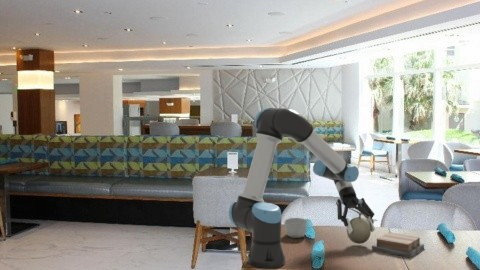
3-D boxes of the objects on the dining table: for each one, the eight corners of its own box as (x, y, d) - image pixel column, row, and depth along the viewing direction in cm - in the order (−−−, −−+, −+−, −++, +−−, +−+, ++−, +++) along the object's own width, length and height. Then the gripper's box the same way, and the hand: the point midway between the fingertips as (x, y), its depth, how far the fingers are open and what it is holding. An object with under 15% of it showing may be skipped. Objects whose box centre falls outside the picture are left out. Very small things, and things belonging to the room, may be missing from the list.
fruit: (373, 246, 219) (374, 213, 218) (346, 245, 221) (347, 212, 220) (371, 240, 229) (372, 208, 228) (346, 239, 231) (346, 207, 230)
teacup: (307, 239, 235) (307, 222, 235) (284, 239, 236) (284, 222, 235) (304, 231, 249) (304, 216, 249) (282, 231, 249) (283, 216, 249)
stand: (410, 257, 208) (410, 245, 207) (371, 250, 218) (372, 239, 218) (424, 248, 221) (424, 237, 220) (387, 241, 231) (387, 231, 231)
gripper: (364, 194, 242) (381, 234, 227) (321, 196, 235) (336, 237, 221) (370, 185, 236) (388, 225, 222) (326, 186, 230) (341, 228, 216)
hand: (362, 231), depth 222 cm, fingers closed on fruit, 10 cm apart
